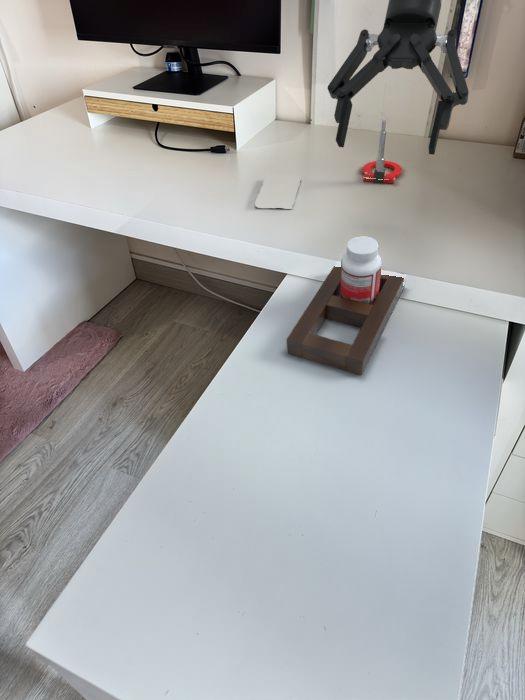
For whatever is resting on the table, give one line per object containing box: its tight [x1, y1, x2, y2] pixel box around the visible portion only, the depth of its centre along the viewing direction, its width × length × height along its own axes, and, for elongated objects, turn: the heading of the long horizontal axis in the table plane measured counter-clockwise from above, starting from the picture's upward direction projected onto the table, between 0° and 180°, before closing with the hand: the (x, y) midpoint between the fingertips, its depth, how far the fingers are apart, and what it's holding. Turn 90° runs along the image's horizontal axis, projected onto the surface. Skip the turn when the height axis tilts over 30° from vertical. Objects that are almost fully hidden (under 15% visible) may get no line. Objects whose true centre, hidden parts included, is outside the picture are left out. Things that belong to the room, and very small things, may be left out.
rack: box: [286, 265, 406, 376], centre depth 80 cm, size 12×21×3 cm, turn 152°
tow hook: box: [362, 119, 402, 184], centre depth 108 cm, size 8×13×9 cm
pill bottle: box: [339, 235, 383, 305], centre depth 79 cm, size 6×6×11 cm
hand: (384, 147), depth 75 cm, fingers open, 13 cm apart
